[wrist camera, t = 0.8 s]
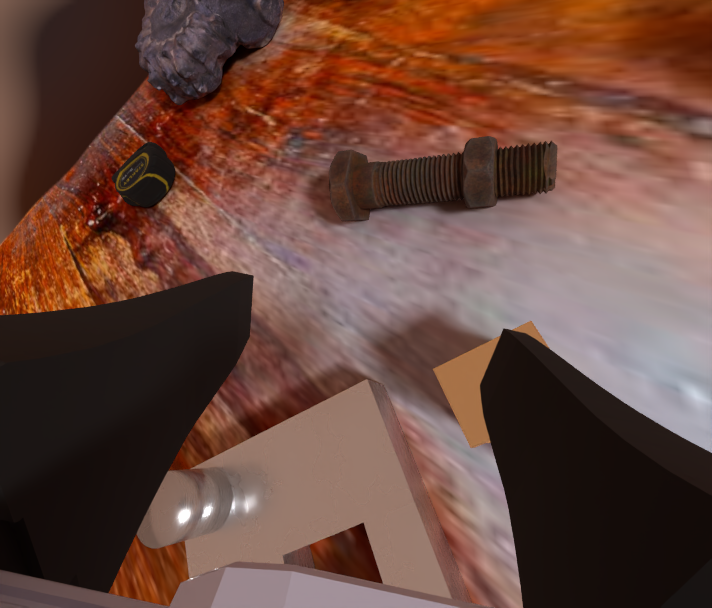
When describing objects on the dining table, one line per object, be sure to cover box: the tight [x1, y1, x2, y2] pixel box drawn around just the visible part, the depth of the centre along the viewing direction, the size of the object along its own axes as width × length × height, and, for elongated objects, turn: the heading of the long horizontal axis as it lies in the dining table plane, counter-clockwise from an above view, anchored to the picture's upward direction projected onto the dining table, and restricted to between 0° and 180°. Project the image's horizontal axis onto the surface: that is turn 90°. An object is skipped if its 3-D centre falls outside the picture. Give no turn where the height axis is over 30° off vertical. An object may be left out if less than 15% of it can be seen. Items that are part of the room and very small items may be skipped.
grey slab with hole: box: [137, 379, 472, 603], centre depth 21 cm, size 16×16×7 cm
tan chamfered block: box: [433, 321, 549, 448], centre depth 20 cm, size 4×5×6 cm
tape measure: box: [112, 142, 175, 207], centre depth 44 cm, size 7×7×4 cm
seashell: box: [135, 0, 284, 105], centre depth 44 cm, size 19×13×15 cm
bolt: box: [329, 136, 557, 221], centre depth 27 cm, size 6×5×15 cm
